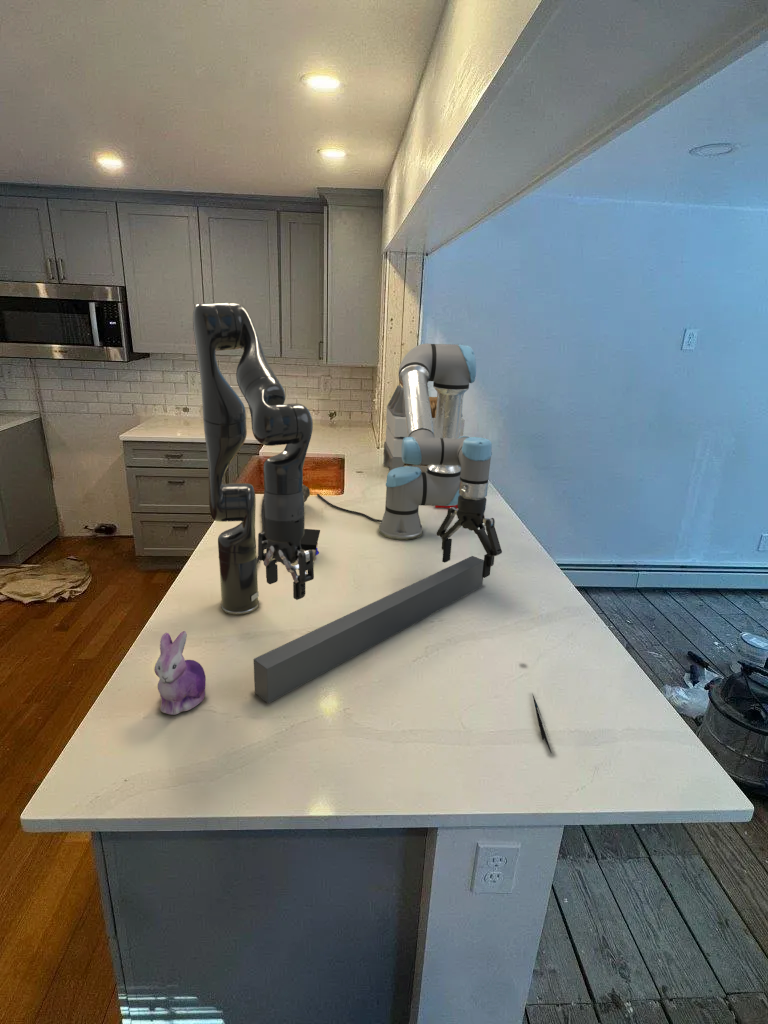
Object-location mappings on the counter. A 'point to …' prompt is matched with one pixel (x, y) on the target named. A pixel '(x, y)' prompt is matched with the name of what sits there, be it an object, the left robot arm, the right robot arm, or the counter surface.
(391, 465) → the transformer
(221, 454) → the left robot arm
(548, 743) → the feather
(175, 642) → the figurine
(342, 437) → the counter surface
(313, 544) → the figurine character
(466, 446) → the right robot arm
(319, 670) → the beam
